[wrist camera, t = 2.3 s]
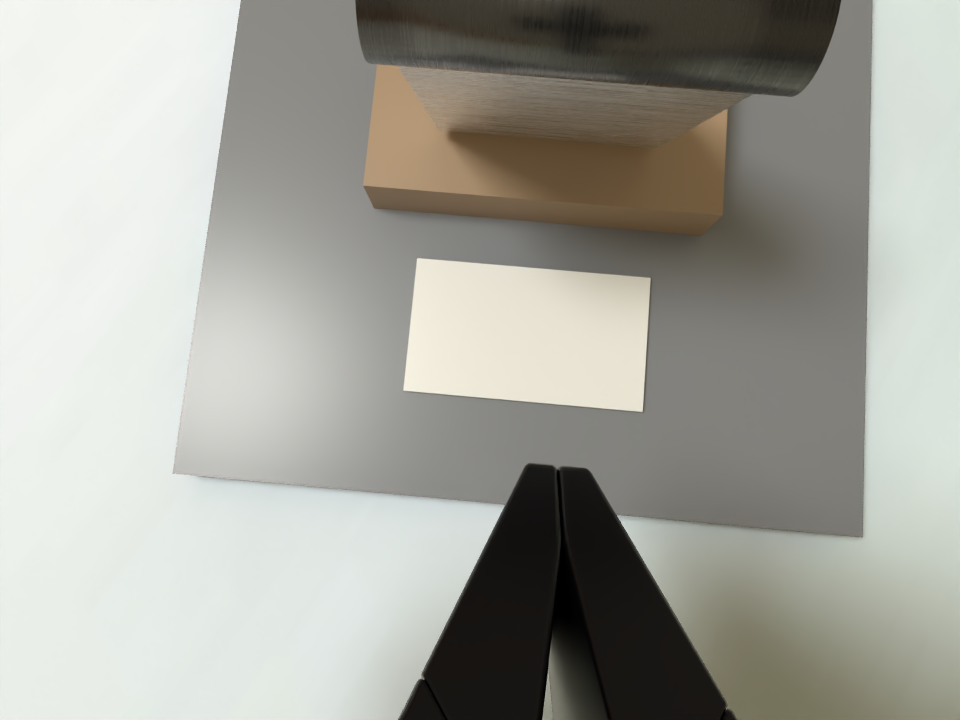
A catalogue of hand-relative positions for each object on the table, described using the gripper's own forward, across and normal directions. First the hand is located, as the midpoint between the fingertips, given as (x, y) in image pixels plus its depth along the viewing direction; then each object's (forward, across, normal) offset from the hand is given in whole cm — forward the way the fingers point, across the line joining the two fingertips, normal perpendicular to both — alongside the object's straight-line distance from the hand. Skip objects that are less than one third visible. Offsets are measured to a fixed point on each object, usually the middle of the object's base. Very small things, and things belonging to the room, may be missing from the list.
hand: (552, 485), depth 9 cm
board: (+13, 0, +3) cm, 14 cm away
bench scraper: (+13, 0, -1) cm, 13 cm away
